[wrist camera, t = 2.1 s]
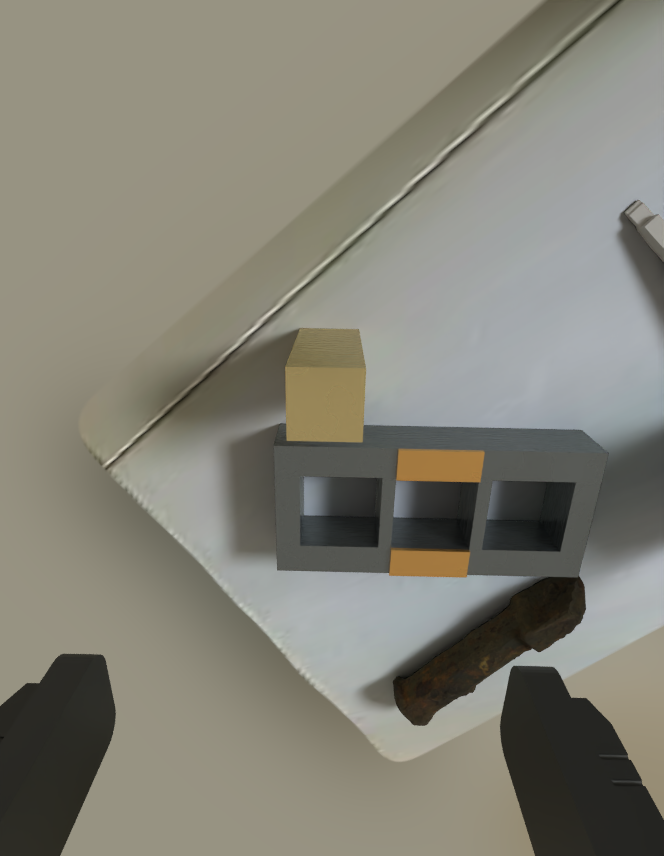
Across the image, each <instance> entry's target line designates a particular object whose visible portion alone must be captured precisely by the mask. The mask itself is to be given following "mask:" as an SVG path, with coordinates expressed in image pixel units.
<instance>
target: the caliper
mask: <svg viewBox="0 0 664 856" xmlns="http://www.w3.org/2000/svg"><path fill="white" fill-rule="evenodd" d="M624 213H625V215H626V216H627V217H628V218H629V220H630V221H631V222H632V223H633V224H634V225H635V226H636V227H637V229H636V230H637V231H638V232H639V234H640V235H641V236H642V237H643V239H644V240H645V241H646V243H647V244H648V245H649V247H650V248H651V249H652V250H653V251H654V252H655V253H656V254H657V255H658V257H659V258H660V259H661V260H662V261H663V262H664V220H663V219H662V218H661V216H660V215H659V214H658V215H654V214H653V213H652V212H651V211H650V210H649V209H648V207H647V206H646V205H645V204H644V203H642V202H641V201H640V200H637V201H636V202H635V203H634V204H633V205H632V206H631V207H630V208H628V209H627V210H626V211H625V212H624Z"/></svg>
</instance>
